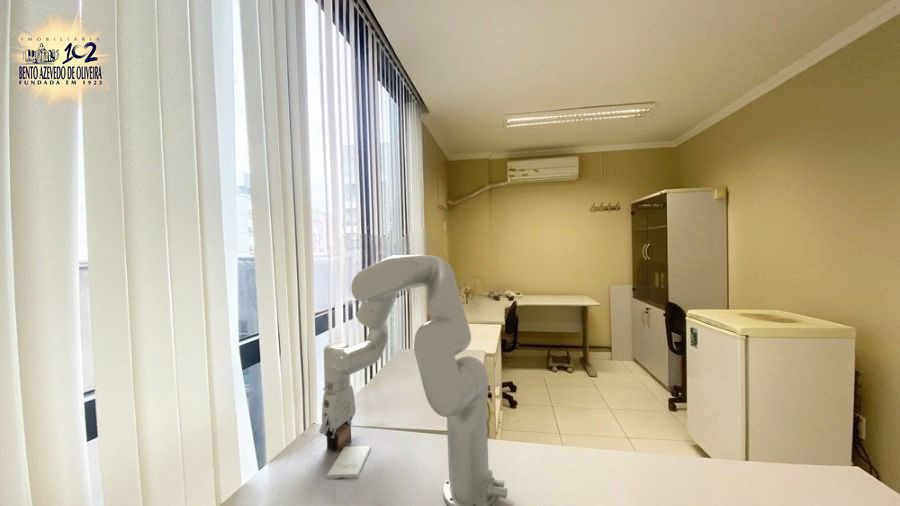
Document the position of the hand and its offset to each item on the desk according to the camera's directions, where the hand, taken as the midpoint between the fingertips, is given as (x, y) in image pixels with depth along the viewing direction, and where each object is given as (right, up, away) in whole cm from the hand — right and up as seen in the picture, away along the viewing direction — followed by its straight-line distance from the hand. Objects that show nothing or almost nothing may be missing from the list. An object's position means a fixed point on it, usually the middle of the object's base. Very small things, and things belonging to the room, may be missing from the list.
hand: (339, 443), depth 97 cm
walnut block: (0, -1, 0) cm, 1 cm away
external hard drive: (+6, -1, -9) cm, 11 cm away
